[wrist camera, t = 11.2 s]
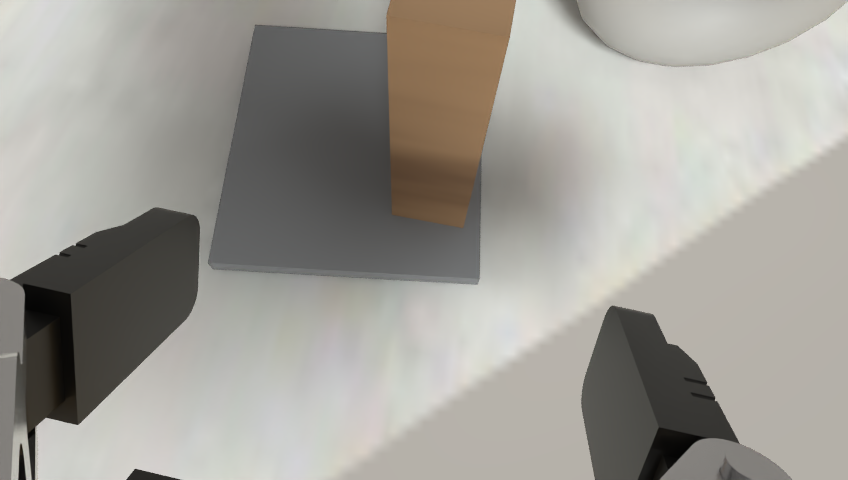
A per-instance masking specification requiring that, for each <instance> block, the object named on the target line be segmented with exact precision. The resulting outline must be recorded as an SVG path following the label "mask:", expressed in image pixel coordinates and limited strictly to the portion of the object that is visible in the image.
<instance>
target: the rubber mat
mask: <svg viewBox="0 0 848 480" xmlns="http://www.w3.org/2000/svg"><path fill="white" fill-rule="evenodd" d="M480 209H481V157H480V161H479V165H478V169H477V173H476V177H475V182H474V186H473V190H472V194H471V198H470V202H469V206H468V210H467V214H466V219H465V223H464V227H463V228H459V227H454V226H449V225H444V224H438V223H433V222H428V221H422V220H417V219H412V218H406V217H401V216H396V215H392V199H391V163H390V127H389V90H388V54H387V33H372V32H357V31H342V30H326V29H311V28H296V27H280V26H265V25H255V28H254V33H253V38H252V43H251V48H250V53H249V58H248V63H247V69H246V74H245V79H244V84H243V89H242V94H241V99H240V104H239V109H238V114H237V119H236V124H235V129H234V134H233V139H232V144H231V149H230V154H229V159H228V164H227V169H226V174H225V179H224V184H223V189H222V194H221V199H220V204H219V209H218V215H217V220H216V225H215V230H214V235H213V240H212V245H211V250H210V255H209V260H208V264H209V265H210V266H211V267H212V268H213V269H222V270H239V271H256V272H273V273H290V274H307V275H324V276H341V277H358V278H375V279H392V280H409V281H426V282H443V283H460V284H478V281H479V276H480Z"/></svg>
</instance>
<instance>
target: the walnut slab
mask: <svg viewBox="0 0 848 480" xmlns="http://www.w3.org/2000/svg"><path fill="white" fill-rule="evenodd" d="M515 3H516V0H391V1H390V4H389V8H388V12H387V15H386V18H387V54H388V90H389V127H390V163H391V199H392V215H396V216H401V217H406V218H412V219H417V220H422V221H428V222H433V223H438V224H444V225H449V226H454V227H459V228H463V227H464V223H465V219H466V214H467V210H468V206H469V202H470V198H471V194H472V190H473V186H474V182H475V177H476V173H477V169H478V165H479V161H480V157H481V153H482V149H483V145H484V141H485V136H486V132H487V128H488V124H489V120H490V116H491V112H492V108H493V104H494V99H495V95H496V91H497V87H498V83H499V79H500V75H501V71H502V67H503V62H504V58H505V54H506V50H507V46H508V42H509V38H510V32H511V26H512V20H513V15H514V9H515Z"/></svg>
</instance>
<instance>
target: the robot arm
mask: <svg viewBox="0 0 848 480" xmlns="http://www.w3.org/2000/svg"><path fill="white" fill-rule="evenodd" d="M199 241H200V226H199V221H198V219H197V217H196V216H194V215H190V214H186V213H181V212H176V211H172V210H167V209H162V208H158V207H157V208H153V209H151V210H149V211H148V212H146V213H144V214H142V215H141V216H139V217H137V218H135V219H134V220H132V221H130V222H128V223H127V224H125V225H122V226H118V227H114V228H111V229H107V230H103V231H99V232H96V233H94V234H92V235H90V236H88V237H87V238H85V239H83V240H81V241H79V242H78V243H76V246H73V245H72V246H70V247H69V248H67V249H65V250H63V251H61V252H60V254H59V255H54V256H52V257H51V258H49V259H47V260H45V261H43V262H41V263H40V264H38V265H36V266H34V267H32V268H31V269H29V270H27V271H25V272H23V273H22V274H20V275H18V276H16V277H14V278H13V279H11V280H7V279H3V278H0V480H38V439H37V428H36V426H37V425H38V424H39V423H40V422H41V421H42V420H44V419H45V418H50V419H54V420H59V421H63V422H67V423H71V424H76V425H79V424H80V423H81V422H82V421H83V420H84V419H85V418H86V417H87V416H88V415H89V414H90V413H91V412H92V411H93V410H94V409H95V408H96V407H97V406H98V405H99V404H100V403H101V402H102V401H103V400H104V399H105V398H106V397H107V396H108V395H109V394H110V393H111V392H112V391H113V390H114V389H115V388H116V387H117V386H118V385H119V384H120V383H121V382H122V381H123V380H124V379H126V378H127V377H128V376H129V375H130V374H131V373H132V372H133V371H134V370H135V369H136V368H137V367H138V366H139V365H140V364H141V363H142V362H143V361H144V360H145V359H146V358H147V357H148V356H149V355H150V354H151V353H152V352H153V351H154V350H155V349H156V348H157V347H158V346H159V345H160V344H161V343H162V342H163V341H164V340H165V339H166V338H167V337H168V336H169V335H170V334H171V333H172V332H174V331H175V330H176V329H177V328H178V327H179V326H180V325H181V324H182V323H183V322H184V321H185V320H186V319H187V317H188V316H189V314H190V313H191V311H192V309H193V306H194V304H195V301H196V297H197V291H198V269H199ZM581 401H582V402H581V404H582V412H583V418H584V423H585V428H586V434H587V439H588V445H589V450H590V455H591V460H592V466H593V471H594V476H595V480H792V479H791V478H790V477H789V476H788V475H787V473H786V472H784V471H783V470H782V469H781V468H780V467H779V466H778V465H777V464H775V463H774V462H772V461H771V460H770V459H768V458H767V457H765V456H763V455H762V454H760V453H758V452H756V451H755V450H753V449H751V448H748V447H746V446H744V445H741V444H740V443H739V442H738V439H737V438H736V436H735V434H734V432H733V430H732V428H731V427H730V424H729V423H728V421H727V419H726V417H725V415H724V413H723V411H722V409H721V407H720V406H719V404H718V402H717V401H715V396H714V394H713V393H712V391H711V389H710V387H709V386H707V381H706V380H705V378H704V376H703V374H702V372H701V370H700V368H699V366H698V364H696V362H695V361H694V360H692V359H691V358H690V357H689V356H688V355H687V354H686V353H685V352H684V351H683V350H682V349H680V348H679V347H678V346H676V345H672V344H667V342H666V340H665V337H664V335H663V333H662V331H661V329H660V327H659V325H658V323H657V321H656V318H655V317H654V315H653V314H650V313H645V312H640V311H636V310H631V309H626V308H622V307H616V306H611V307H610V308H609V309H608V311H607V313H606V315H605V318H604V321H603V324H602V327H601V330H600V333H599V336H598V339H597V342H596V345H595V348H594V351H593V354H592V357H591V360H590V363H589V366H588V369H587V372H586V375H585V379H584V383H583V389H582V400H581ZM127 480H180V479H176V478H171V477H167V476H163V475H159V474H155V473H151V472H146V471H142V470H138V469H135V470H134V471H133V472H132V473H131V475H130V476H129V477H128V478H127Z"/></svg>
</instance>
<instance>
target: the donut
mask: <svg viewBox="0 0 848 480" xmlns="http://www.w3.org/2000/svg"><path fill="white" fill-rule="evenodd" d="M576 1H577V4H578V8H579V11H580V14H581V17H582V19H583V20H584V22H585V23H586V24H587V25H588V26H589V27H590V28H591V29H592V30H593V31H594V32H595V33H596V35H597V36H598V37H599V38H600V39H601V40H602V41H603V42H604V43H605V44H606V45H607V46H608V47H610V48H612V49H614V50H616V51H618V52H620V53H622V54H625V55H627V56H629V57H631V58H633V59H635V60H638V61H642V62H647V63H653V64H659V65H665V66H671V67H685V66H709V65H714V64H719V63H723V62H728V61H733V60H737V59H742V58H747V57H750V56H753V55H755V54H758V53H760V52H763V51H766V50H768V49H771V48H773V47H776V46H779V45H781V44H784V43H786V42H789V41H790V40H792V39H794V38H796V37H797V36H799V35H801V34H802V33H804V32H806V31H808V30H809V29H811V28H813V27H814V26H816V25H818V24H820V23H821V22H823V21H825V20H826V19H828V18H829V17H830V16H831V15H832V14H834V13H835V12H836V11H837V10H838V9H839V8H841V7H842V6H843V5H844V4H845V3H846V2H848V0H576Z"/></svg>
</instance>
